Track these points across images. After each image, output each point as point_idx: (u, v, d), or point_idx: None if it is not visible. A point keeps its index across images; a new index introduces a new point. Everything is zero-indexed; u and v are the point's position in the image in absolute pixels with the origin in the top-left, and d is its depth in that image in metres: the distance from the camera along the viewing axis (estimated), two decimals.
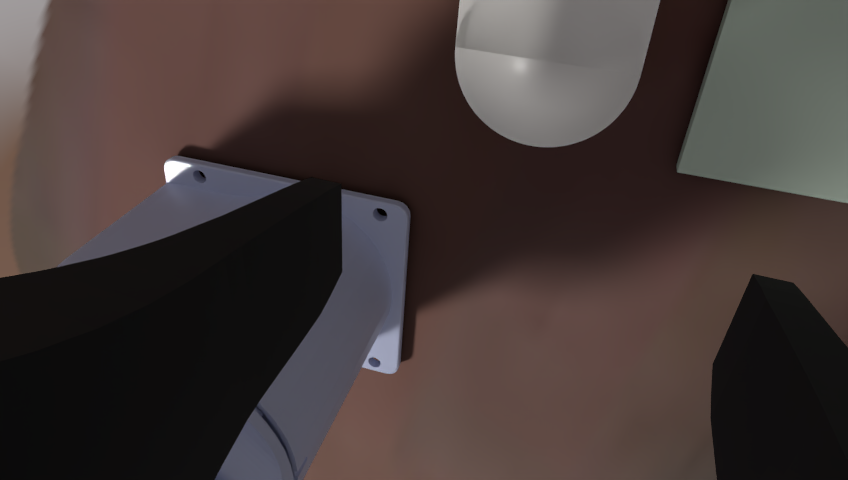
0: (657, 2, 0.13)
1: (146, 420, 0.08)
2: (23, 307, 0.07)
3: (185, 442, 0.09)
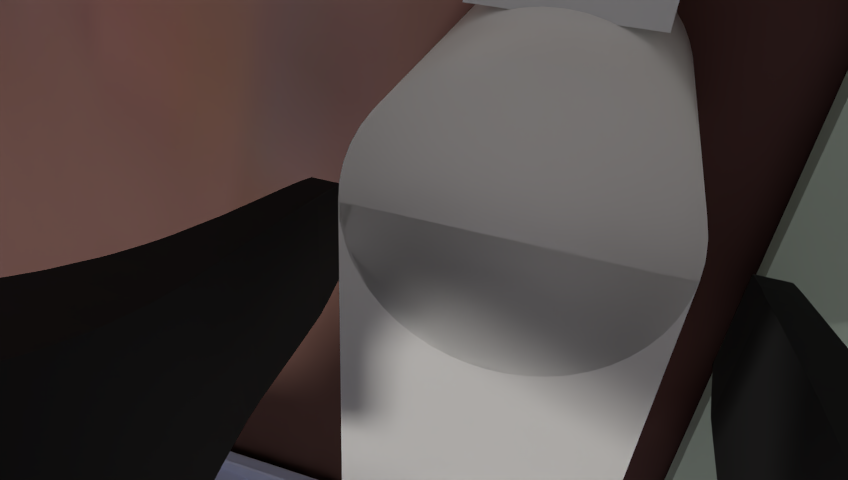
0: None
1: (146, 420, 0.08)
2: (23, 307, 0.07)
3: (185, 442, 0.09)
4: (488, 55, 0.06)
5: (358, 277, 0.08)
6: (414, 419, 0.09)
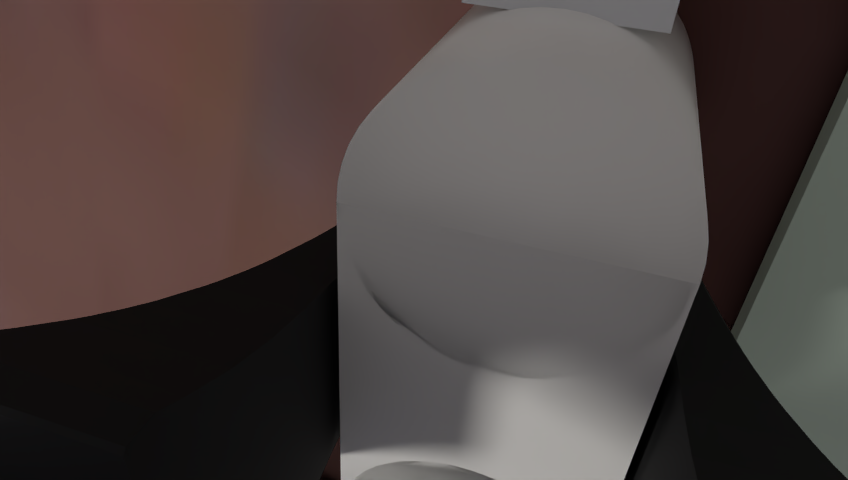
0: None
1: (261, 457, 0.07)
2: (150, 345, 0.06)
3: (288, 476, 0.09)
4: (488, 56, 0.06)
5: (357, 279, 0.08)
6: (413, 421, 0.09)
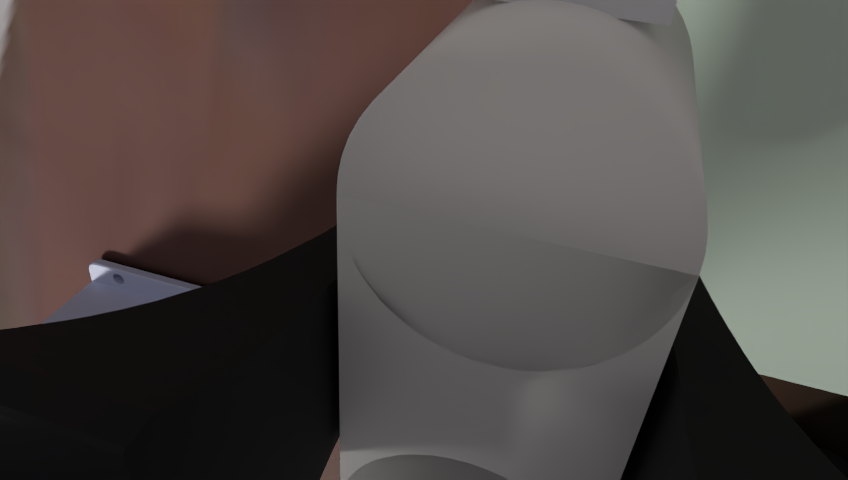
0: None
1: (261, 457, 0.07)
2: (151, 345, 0.06)
3: (288, 476, 0.09)
4: (487, 48, 0.06)
5: (356, 271, 0.08)
6: (413, 414, 0.09)
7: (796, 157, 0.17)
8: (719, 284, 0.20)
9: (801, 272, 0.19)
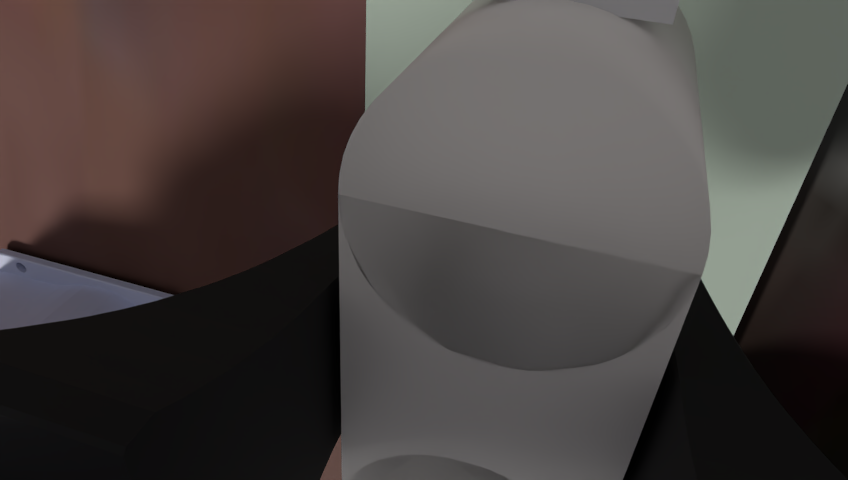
0: None
1: (261, 457, 0.07)
2: (151, 345, 0.06)
3: (288, 476, 0.09)
4: (490, 45, 0.06)
5: (358, 271, 0.08)
6: (414, 414, 0.09)
7: None
8: None
9: None
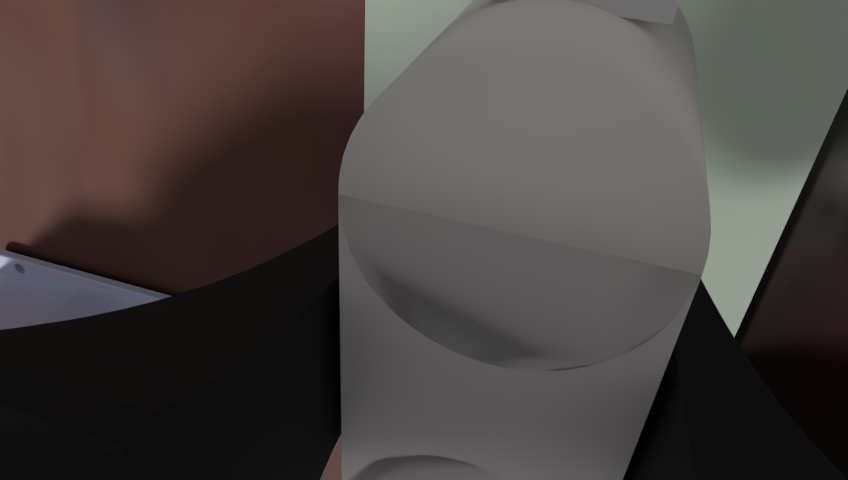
0: None
1: (261, 457, 0.07)
2: (151, 345, 0.06)
3: (288, 476, 0.09)
4: (489, 46, 0.06)
5: (358, 271, 0.08)
6: (415, 414, 0.09)
7: None
8: None
9: None
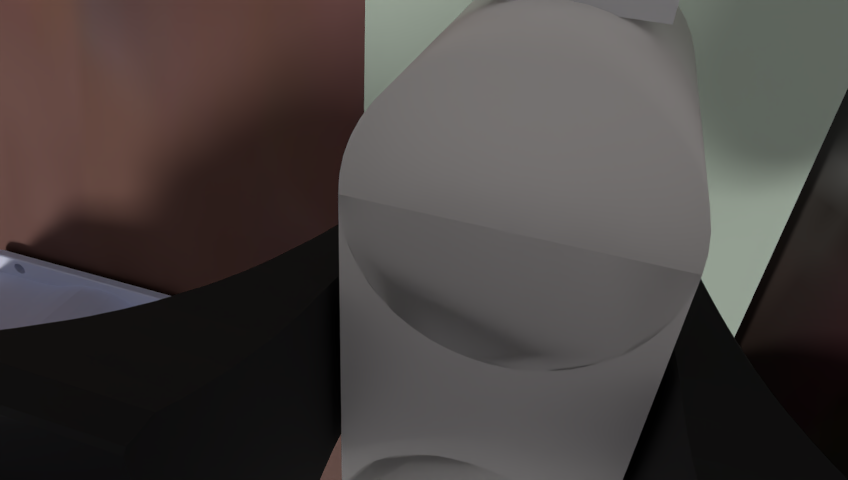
0: None
1: (261, 457, 0.07)
2: (151, 345, 0.06)
3: (288, 476, 0.09)
4: (489, 46, 0.06)
5: (358, 271, 0.08)
6: (415, 414, 0.09)
7: None
8: None
9: None
